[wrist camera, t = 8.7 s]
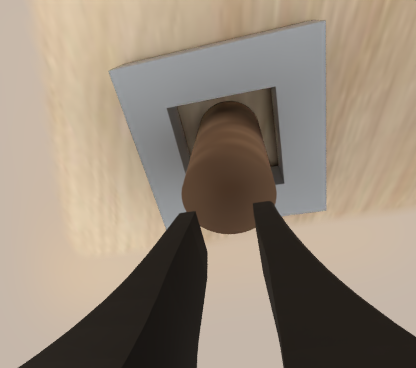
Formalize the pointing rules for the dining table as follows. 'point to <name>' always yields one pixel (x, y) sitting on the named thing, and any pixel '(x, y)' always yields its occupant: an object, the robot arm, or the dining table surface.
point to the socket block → (225, 86)
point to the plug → (228, 170)
